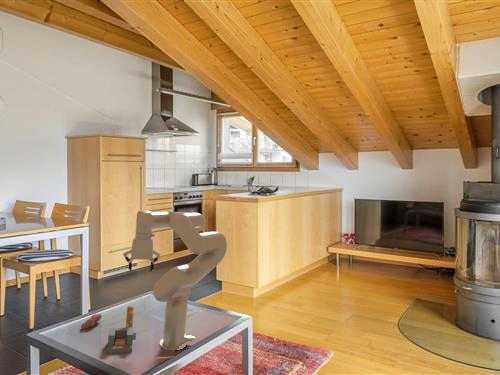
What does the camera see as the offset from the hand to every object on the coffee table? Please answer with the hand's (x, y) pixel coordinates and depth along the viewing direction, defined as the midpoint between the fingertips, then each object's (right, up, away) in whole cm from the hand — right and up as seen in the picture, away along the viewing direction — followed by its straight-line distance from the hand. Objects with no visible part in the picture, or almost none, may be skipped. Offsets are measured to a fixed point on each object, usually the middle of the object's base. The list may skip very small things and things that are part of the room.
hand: (140, 270), depth 190 cm
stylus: (-3, -28, -10) cm, 30 cm away
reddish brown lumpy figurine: (-24, -27, -1) cm, 36 cm away
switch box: (-3, -29, -20) cm, 36 cm away
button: (-3, -28, -20) cm, 35 cm away
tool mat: (-3, -29, -10) cm, 31 cm away
